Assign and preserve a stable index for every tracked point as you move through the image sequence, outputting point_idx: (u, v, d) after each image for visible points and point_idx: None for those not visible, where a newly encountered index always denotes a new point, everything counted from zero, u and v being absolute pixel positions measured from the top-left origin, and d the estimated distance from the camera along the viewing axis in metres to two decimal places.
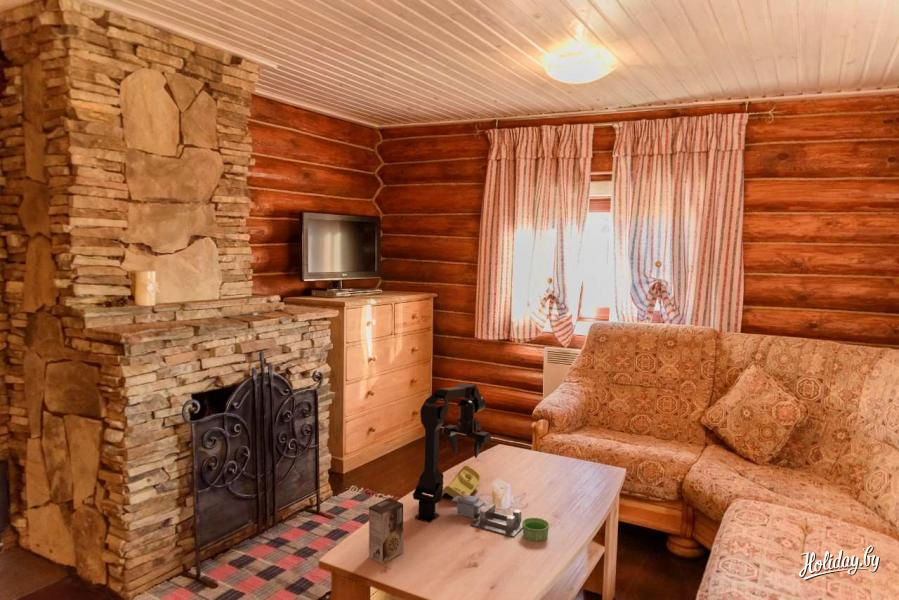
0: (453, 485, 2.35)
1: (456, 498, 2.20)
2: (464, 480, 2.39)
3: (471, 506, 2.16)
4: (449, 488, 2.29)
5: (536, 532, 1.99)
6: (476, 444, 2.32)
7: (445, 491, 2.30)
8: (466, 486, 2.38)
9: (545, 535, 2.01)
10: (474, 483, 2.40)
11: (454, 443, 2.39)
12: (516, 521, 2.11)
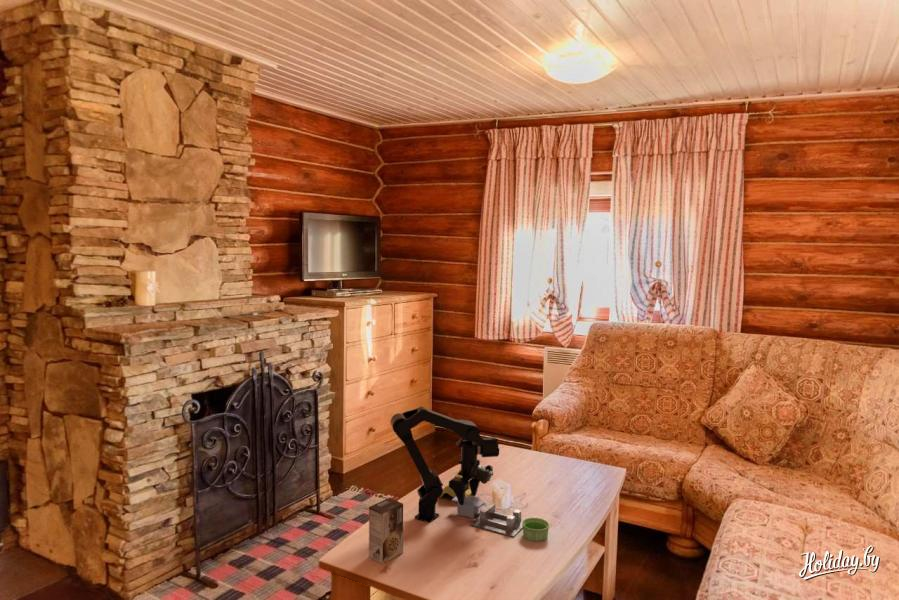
0: None
1: (456, 498, 2.20)
2: None
3: (471, 506, 2.16)
4: (449, 488, 2.29)
5: (536, 532, 1.99)
6: None
7: (445, 491, 2.30)
8: None
9: (545, 535, 2.01)
10: None
11: (472, 484, 2.23)
12: (516, 521, 2.11)
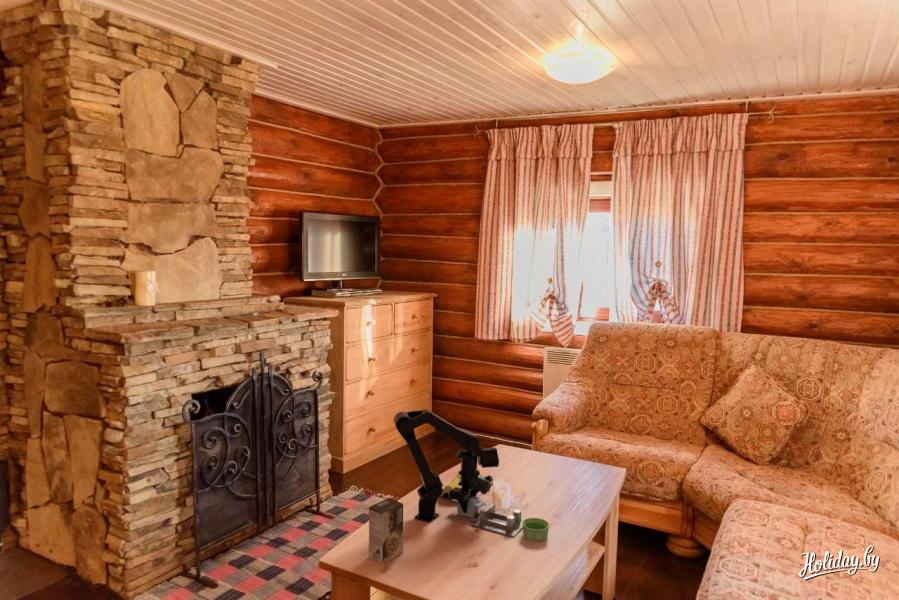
0: (453, 485, 2.36)
1: None
2: None
3: (471, 506, 2.16)
4: (449, 488, 2.29)
5: (536, 532, 1.99)
6: None
7: (445, 491, 2.30)
8: None
9: (545, 535, 2.01)
10: None
11: None
12: (516, 521, 2.11)
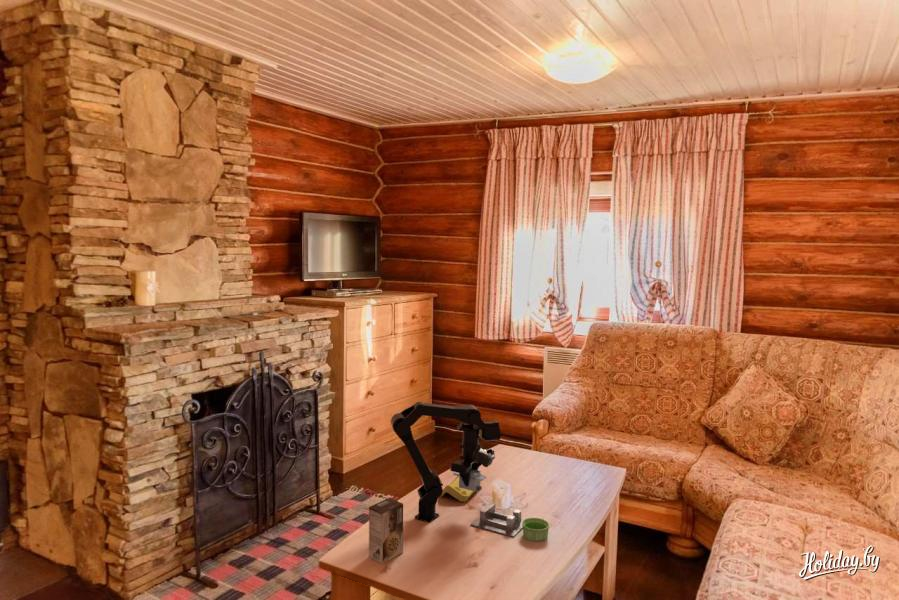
0: (454, 485, 2.36)
1: None
2: None
3: (473, 479, 2.15)
4: (449, 487, 2.29)
5: (536, 532, 1.99)
6: None
7: (446, 490, 2.30)
8: None
9: (545, 535, 2.01)
10: None
11: None
12: (516, 521, 2.11)
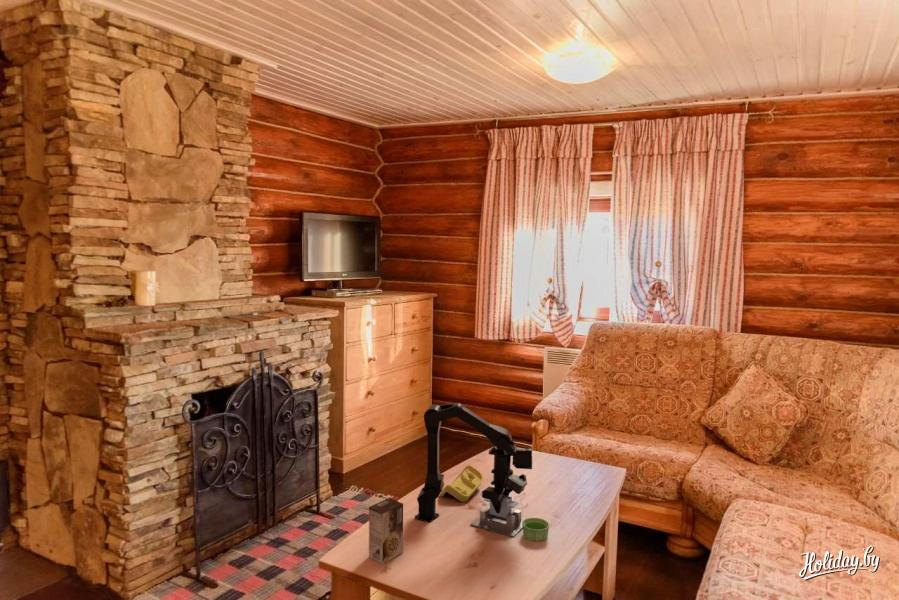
0: (455, 484, 2.36)
1: None
2: (466, 480, 2.40)
3: (505, 506, 2.09)
4: (450, 487, 2.30)
5: (536, 532, 1.99)
6: None
7: (446, 490, 2.31)
8: (468, 486, 2.38)
9: (545, 535, 2.01)
10: (476, 483, 2.40)
11: None
12: (516, 521, 2.11)
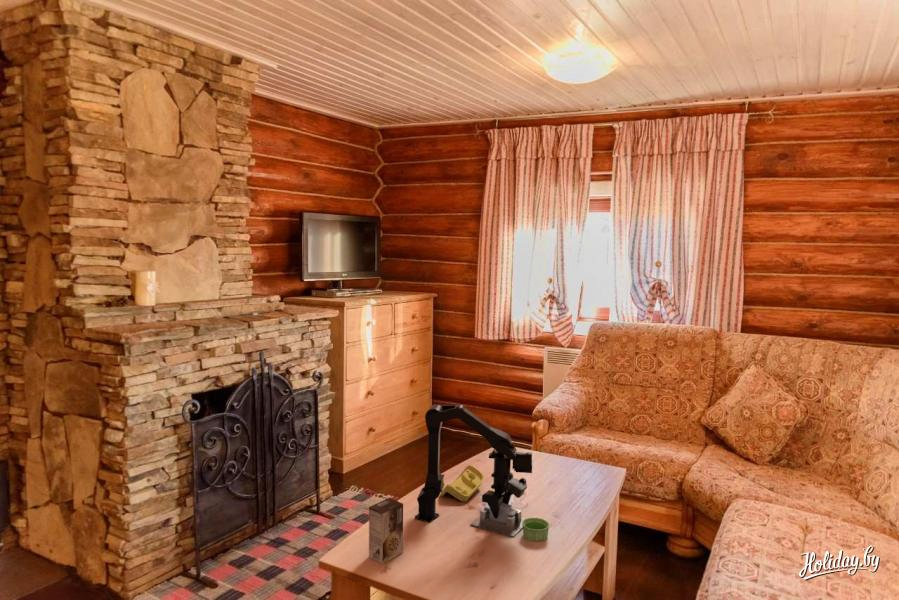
0: (455, 484, 2.36)
1: (488, 505, 2.14)
2: (467, 480, 2.40)
3: (504, 514, 2.09)
4: (450, 487, 2.30)
5: (536, 532, 1.99)
6: None
7: (446, 490, 2.31)
8: (468, 486, 2.38)
9: (545, 535, 2.01)
10: (477, 483, 2.40)
11: (503, 499, 2.15)
12: (516, 521, 2.11)
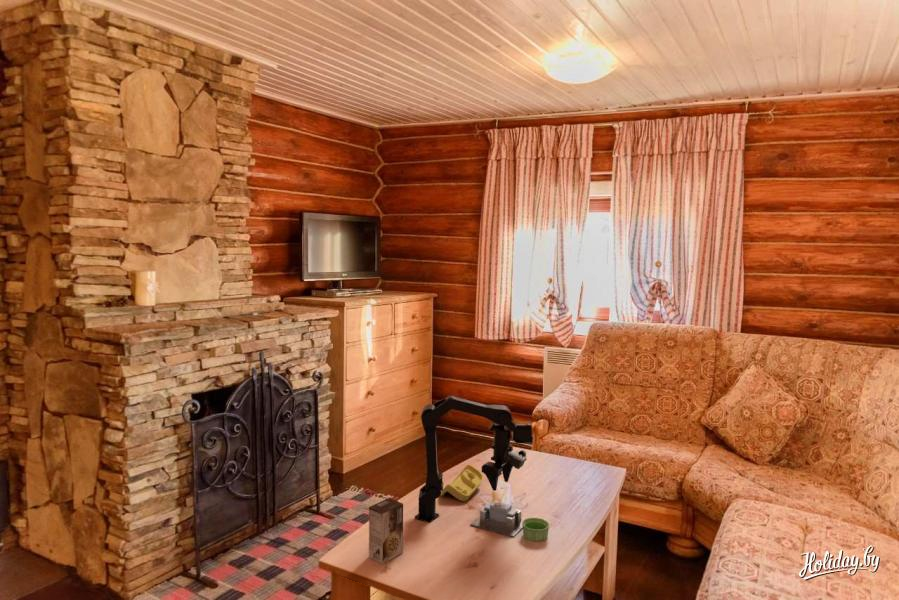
0: (455, 484, 2.36)
1: (488, 505, 2.14)
2: (466, 479, 2.40)
3: (504, 514, 2.09)
4: (450, 487, 2.30)
5: (536, 532, 1.99)
6: None
7: (446, 490, 2.31)
8: (468, 485, 2.39)
9: (545, 535, 2.01)
10: (476, 482, 2.40)
11: (504, 470, 2.18)
12: (516, 521, 2.11)
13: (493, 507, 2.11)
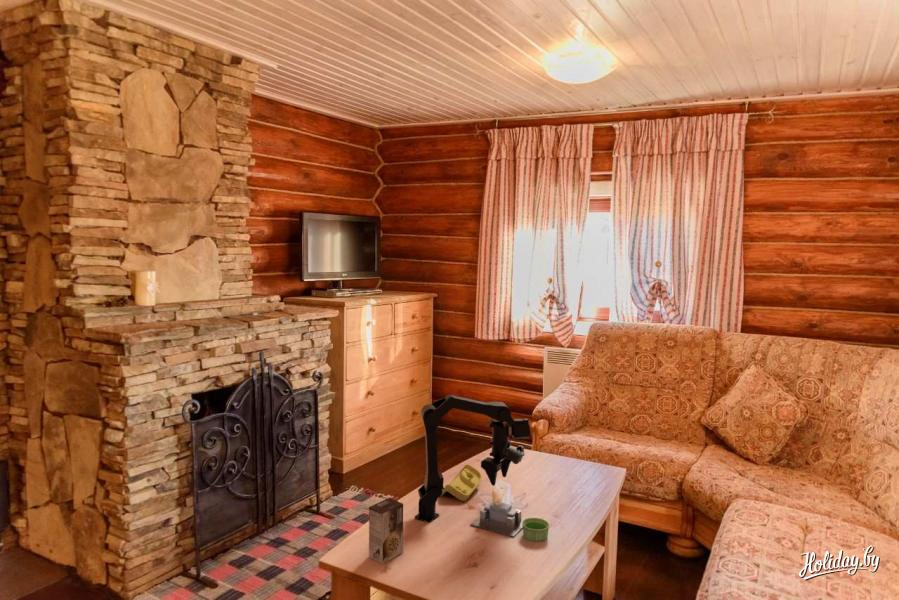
0: (454, 484, 2.37)
1: (488, 505, 2.14)
2: (465, 479, 2.41)
3: (504, 514, 2.09)
4: (450, 487, 2.30)
5: (536, 532, 1.99)
6: None
7: (446, 489, 2.31)
8: (467, 485, 2.39)
9: (545, 535, 2.01)
10: (475, 482, 2.41)
11: (502, 465, 2.23)
12: (516, 521, 2.11)
13: (493, 507, 2.11)
